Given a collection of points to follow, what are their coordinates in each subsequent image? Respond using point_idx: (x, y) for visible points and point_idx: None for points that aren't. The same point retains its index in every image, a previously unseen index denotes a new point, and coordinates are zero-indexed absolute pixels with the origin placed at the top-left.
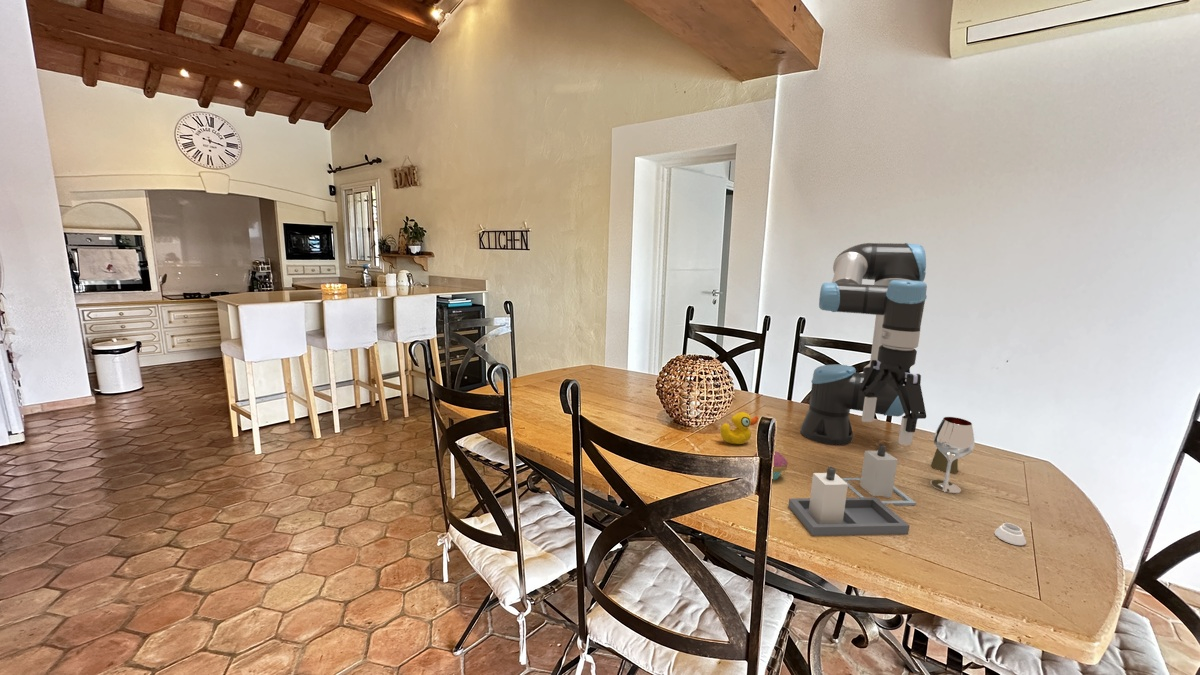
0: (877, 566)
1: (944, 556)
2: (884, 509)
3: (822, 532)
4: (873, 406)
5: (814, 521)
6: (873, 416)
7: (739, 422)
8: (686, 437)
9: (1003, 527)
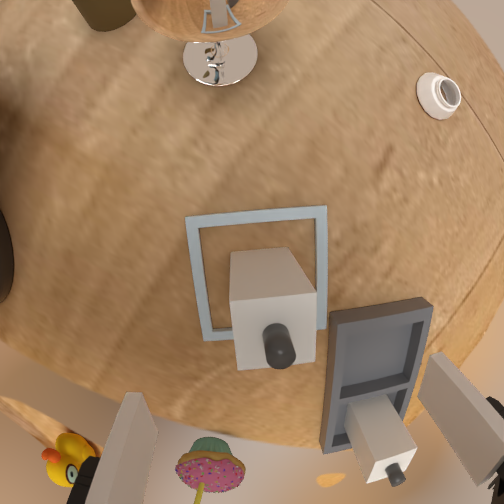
0: None
1: (465, 266)
2: (384, 328)
3: None
4: (124, 477)
5: None
6: (135, 418)
7: None
8: None
9: (446, 106)
